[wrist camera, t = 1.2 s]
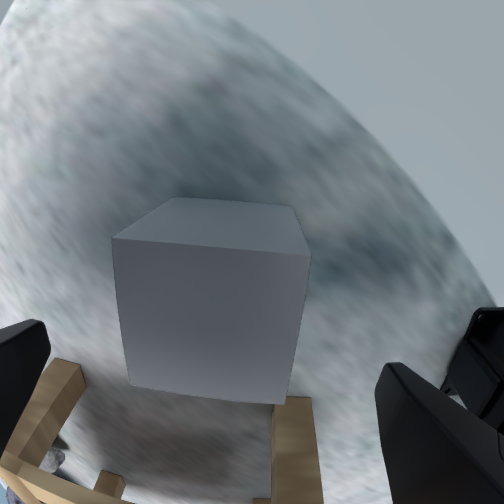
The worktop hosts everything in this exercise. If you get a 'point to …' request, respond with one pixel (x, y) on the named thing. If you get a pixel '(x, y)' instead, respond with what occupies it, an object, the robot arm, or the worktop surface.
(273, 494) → the trapdoor frame
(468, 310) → the worktop surface
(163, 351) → the grey block
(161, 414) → the worktop surface
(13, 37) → the worktop surface
